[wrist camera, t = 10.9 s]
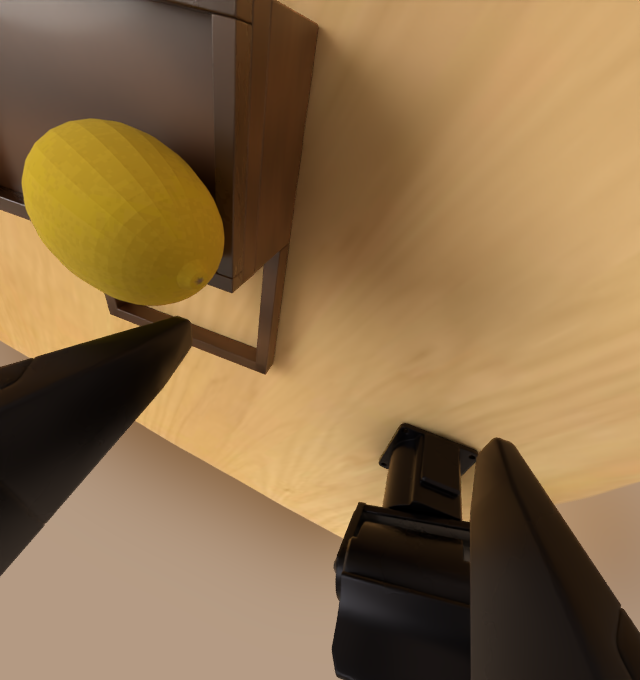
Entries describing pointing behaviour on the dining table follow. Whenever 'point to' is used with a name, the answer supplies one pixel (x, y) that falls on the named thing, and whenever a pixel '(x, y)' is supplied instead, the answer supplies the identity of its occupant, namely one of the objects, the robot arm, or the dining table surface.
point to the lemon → (123, 212)
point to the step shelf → (175, 116)
